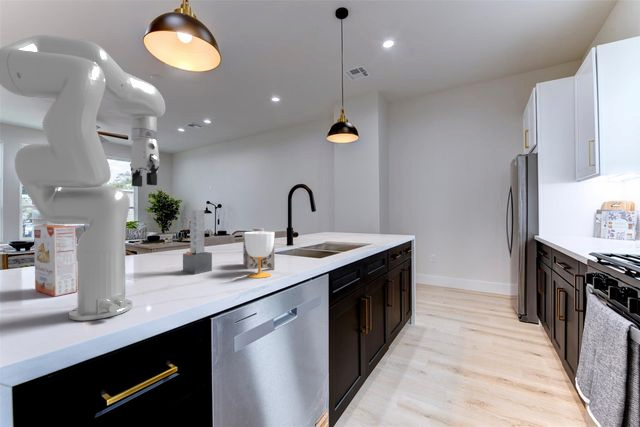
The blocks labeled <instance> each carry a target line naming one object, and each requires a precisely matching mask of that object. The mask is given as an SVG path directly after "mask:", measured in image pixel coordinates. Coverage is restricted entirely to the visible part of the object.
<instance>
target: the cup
mask: <svg viewBox="0 0 640 427" xmlns="http://www.w3.org/2000/svg"><path fill="white" fill-rule="evenodd" d="M244 239H245V247H246V251H247V252H248V254H249V255H250V256H251V257H253V258H255V259H257V260H258V268H257V272H252V273H249V274H248V275H247V277H248V278H251V279H263V278H264V279H266V278H269V277H271V276H272V274H271V273H270V272H263V271H261V270H262V268H261V260H262V259H263V258H265V257H267V256H269V255H270V253H271V251H272V249H273V245H274V243H275V241H274V240H275V231H265V230H264V231H258V232H253V231H246V232H244V235H243V240H244Z"/></svg>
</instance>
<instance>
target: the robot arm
mask: <svg viewBox="0 0 640 427" xmlns="http://www.w3.org/2000/svg"><path fill="white" fill-rule="evenodd" d="M0 86H1V87H2V88H4V89H5V90H7V91H8V92H10V93H12V94H15V95H18V96H20V97H27V98H41V99H53V100H54V102H53V103H52V104H51V106H50V107H49V108H48V110H47V111H46V113H45V115H44V116H43V120H42V129H43V130H42V131H43V134H44V136H45V138H46V140H47V142H48V143H29V144H27V145H24V146H22V147H21V148H19V150H18V151H17V152H16V155H15V156H14V169H15V173H16V175H17V179H18V180H19V182H20V184H21V185H22V187H23V189H24V190H25V192H26V194H27V195H28V197H29V198H30V200H31V202H32V204H33V205H34V207H35V208H36V210H37V211H38V214H40V216H41V217H42V218H43V219H44V220H45V221H47V222H49V223H50V224H53V225H88V227H87V228H86V229H85V230H84V232H83V233H82V234H81V235H80V236H79V238H78V239H77V240H78V241H77V292H76V293H77V294H76V295H77V307H75V308H73V309H71V310H70V311H69V312H68V318H69V319H70V320H73V321H93V320H100V319H101V320H102V319H106V318H110V317H114V316H117V315H120V314H121V315H122V314H123V313H125V312H127V311H128V312H129V311H130V310H131V309H132V308H133V301H132V300H130V299H126V232H127V231H126V230H127V228H126V227H127V222H128V216H129V213H130V212H129V211H130V197H129V195H128V194H127V192H125V191H124V190H123V189H121V188H118V187H115V186H109V185H106V184H107V183H109V182H110V179H111V169H110V164H109V162H108V158H107V156H106V152H105V149H104V148H103V145H102V144H103V143H102V141H101V138H100V136H99V132H98V129H97V117H98V112H99V109H100V106H101V102H102V100H103V97H105V98H108V99H111V101H112V104H113V106H114V108H115V109H116V110H117V111H118V112H119V113H120V114H123V115H124V116H128V117H129V118H130V121H131V122H130V123H131V124H130V126H131V127H130V134H131V136H130V137H131V139H130V140H131V141H132V144H131V156H130V157H131V158H130V159H131V162H130V164H129V166H130V171H131V173H130V174H131V186H132V187H138V188H139V187H140V188H141V187H143V175H142V173H143V171H147V172H146V185H148V186H158V173H159V171H158V170H159V168H160V154H159V144H158V140H157V134H158V133H157V132H158V131H157V127H158V125H157V124H158V123H157V121H158V120H157V118H160V117H163V116H164V114H165V113H166V104H165V103H166V102H165V99H164V97H163V96H162V93H161V92H160V91H159V90H158V89H157V87H156V86H154V85H152V84H151V83H150V82H148V81H145V80H143V79H141V78H139V77H137V76H134V75H133V74H130V73H128V72H125V71H124V70H123V69H122V68H121V67H120V65H119V64H117V62H116V61H115V60H114V59H113V58H112V57H111V55H110V54H109V53H108V52H107V51H106V50H105V49H104V48H102V47H101V46H100V45H98V44H97V43H95V42H93V41H90V40H85V39H80V38H75V37H74V38H73V37H66V36H64V37H63V36H59V35H58V36H57V35H48V34H38V35H34V36H29V37H27V38H24V39H21V40H18V41H16V42H12V43H10V44H8V45H7V44H6V45H5V46H2V47H0Z"/></svg>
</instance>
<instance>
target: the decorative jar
mask: <svg viewBox="0 0 640 427" xmlns="http://www.w3.org/2000/svg"><path fill="white" fill-rule="evenodd" d="M258 231H265V229H264V227H253V230H252V232H258ZM275 242H276V241H275V239H274V245H273V249H272V251H271V253H270V255H269V256H267V257H265V258H263V259H262V260H261V272H263V271H271V270H272V271H274V270H275V264H276V263H275V262H276V258H275V257H276V254H275V252H276V251H275V247H276V246H275V244H276V243H275ZM242 244H243V251H242V252H243V253H242V256H243V260H242V261H243V265H244V266H245V267H246V268H247V269H248V270H252V269H253V270H254V269H258V260H257V259H255V258H253V257H251V256H250V255H249V254H248V252H247V251H246V247H245V239H244V238H243V243H242ZM263 268H265V269H263Z"/></svg>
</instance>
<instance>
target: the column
mask: <svg viewBox="0 0 640 427" xmlns="http://www.w3.org/2000/svg"><path fill="white" fill-rule="evenodd" d="M189 220H190V223H189V226H190V229H189V232H190V235H189V238H190V242H189V245H190V248H189V252H192V254H193V255H198V254H204V252H205V210H201V209H200V210H199V209H195V210H194V209H191V210H190V216H189Z"/></svg>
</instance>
